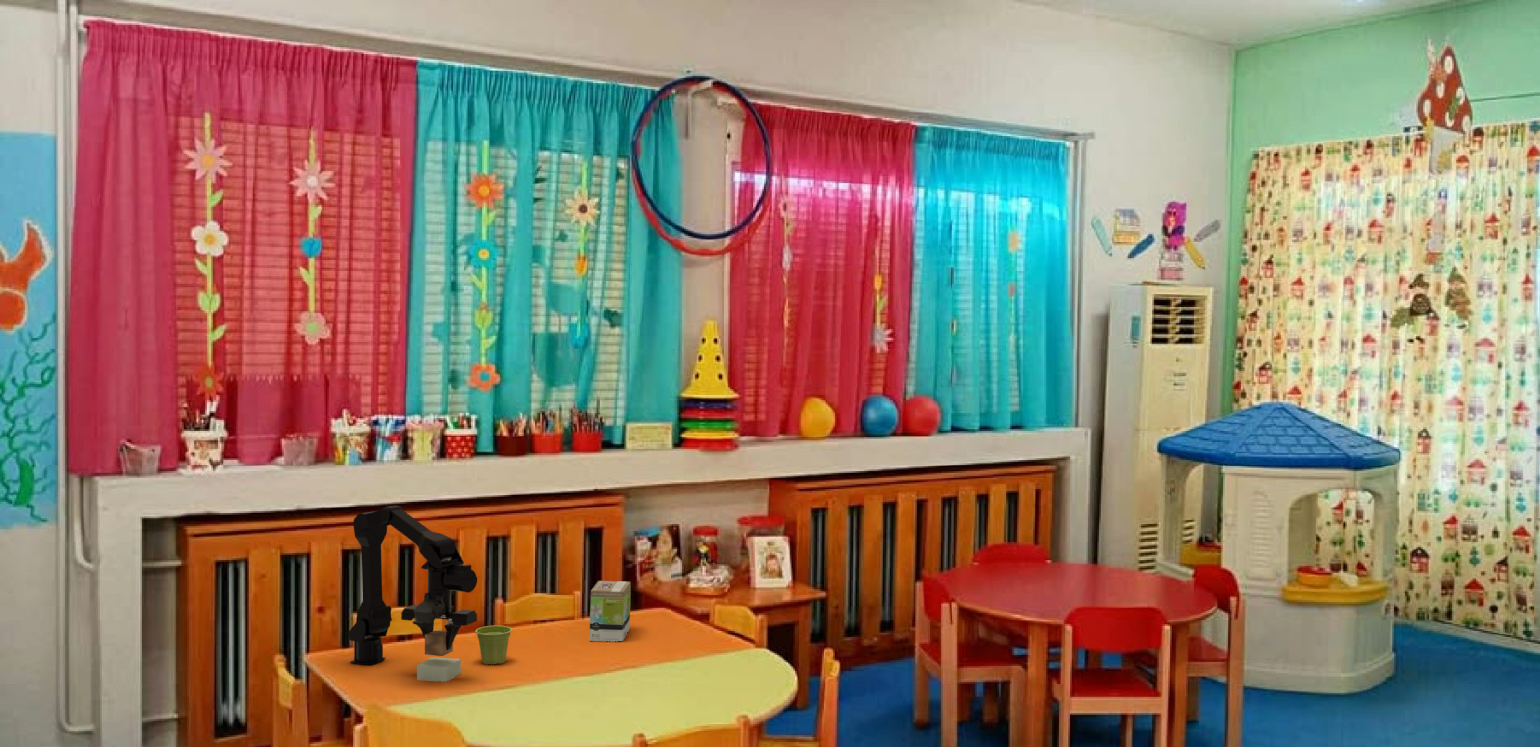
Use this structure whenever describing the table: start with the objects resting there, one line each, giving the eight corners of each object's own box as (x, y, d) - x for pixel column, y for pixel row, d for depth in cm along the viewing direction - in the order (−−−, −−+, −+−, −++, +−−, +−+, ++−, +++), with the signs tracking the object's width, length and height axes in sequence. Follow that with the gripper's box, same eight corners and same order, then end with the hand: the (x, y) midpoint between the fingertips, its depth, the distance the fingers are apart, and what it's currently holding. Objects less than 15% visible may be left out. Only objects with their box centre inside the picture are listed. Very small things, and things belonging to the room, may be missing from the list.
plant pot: (503, 668, 333) (503, 635, 333) (469, 665, 335) (469, 632, 335) (517, 659, 343) (517, 626, 342) (484, 656, 344) (484, 624, 344)
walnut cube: (424, 654, 322) (424, 634, 322) (435, 649, 327) (435, 630, 327) (442, 656, 321) (442, 636, 321) (452, 651, 326) (452, 632, 326)
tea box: (624, 642, 362) (624, 590, 361) (588, 642, 362) (589, 590, 361) (630, 630, 377) (631, 580, 376) (596, 629, 377) (597, 579, 376)
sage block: (417, 681, 321) (417, 665, 321) (431, 672, 329) (431, 657, 329) (446, 683, 320) (446, 667, 320) (460, 674, 328) (460, 659, 327)
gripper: (388, 591, 319) (388, 653, 319) (455, 597, 313) (454, 660, 314) (413, 582, 329) (413, 642, 330) (478, 588, 324) (477, 649, 324)
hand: (438, 648), depth 324 cm, fingers closed on walnut cube, 5 cm apart
